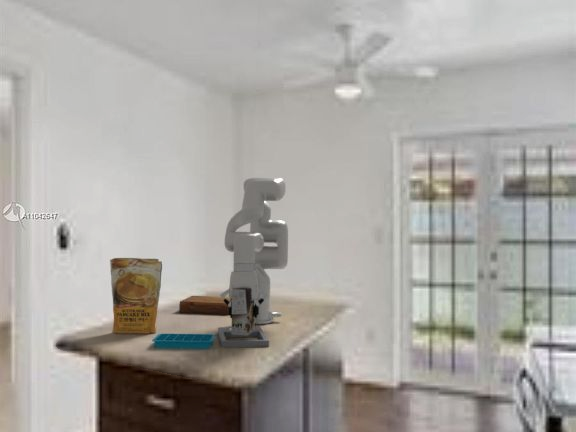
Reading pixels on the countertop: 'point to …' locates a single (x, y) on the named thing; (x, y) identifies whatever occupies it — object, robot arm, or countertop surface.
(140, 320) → the pancake mix bag
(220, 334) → the grey plastic frame
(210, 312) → the diary
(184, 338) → the ice cube tray
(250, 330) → the coffee box
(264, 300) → the robot arm
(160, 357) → the countertop surface
